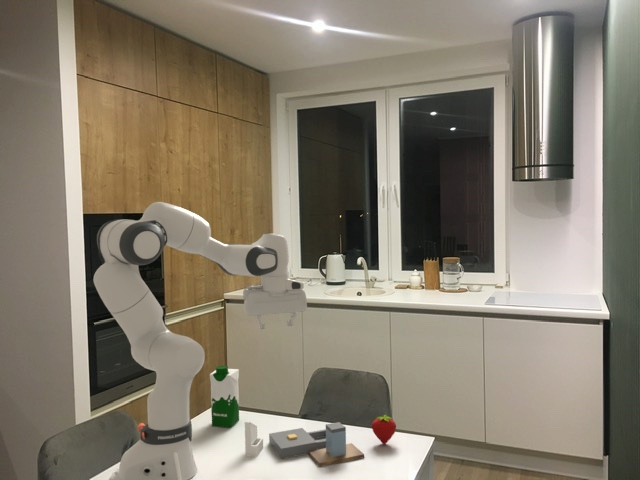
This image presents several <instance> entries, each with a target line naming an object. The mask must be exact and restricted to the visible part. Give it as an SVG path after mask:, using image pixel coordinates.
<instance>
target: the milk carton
mask: <svg viewBox="0 0 640 480" xmlns="http://www.w3.org/2000/svg"><path fill="white" fill-rule="evenodd" d="M239 374H240V369H238V368H229V366H227V365H219V366H216V367H215V370H214V371H213V372H210V374H209V380H210V402H211V403H210V405H211V409H210V412H211V426H212V427H215V428H216V427H217V428H228V429H229V428H230V429H231V428H232V427H234V426H235V425H236V424H237V423H238V422H239V421H240V407H239V406H240V401H239V400H240V397H239V395H240V394H239V392H240V391H239V377H240V375H239Z"/></svg>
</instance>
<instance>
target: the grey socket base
mask: <svg viewBox="0 0 640 480" xmlns="http://www.w3.org/2000/svg"><path fill="white" fill-rule="evenodd" d="M268 435H269V436H268V442H269V445H270V446H271V448H273V450H274V451H275V453H276V454H277V455H278V457H279V458H280V459H281V460H283V459H288V458H292V457H298V456H303V455H307V454H308V455H309V451H314V450H319V449H324V448H326V439H322V438H326V428H325V429H320V430H319V429H318V430H313V431H309V432H307V431H306V430H305V429H304V428H303V427H299V428H293V429H289V430H282V431H276V432H271V433H268ZM315 439H321V440H315Z"/></svg>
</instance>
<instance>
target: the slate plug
mask: <svg viewBox="0 0 640 480" xmlns="http://www.w3.org/2000/svg"><path fill="white" fill-rule="evenodd" d="M325 429H326V437H325V440H326V452H327V453H328V454H329V455H330V456H331V457H336V456H341V455H346V444H347V437H346V436H347V432H346V431H347V428H346V426H345V425H344V424H342V423H341V422H339V421H338V422H333V423H327V424H325Z"/></svg>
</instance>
